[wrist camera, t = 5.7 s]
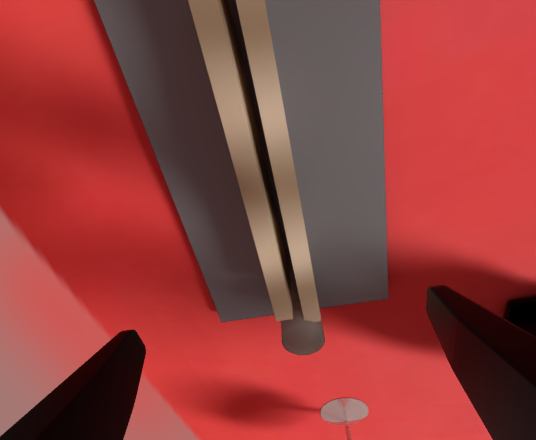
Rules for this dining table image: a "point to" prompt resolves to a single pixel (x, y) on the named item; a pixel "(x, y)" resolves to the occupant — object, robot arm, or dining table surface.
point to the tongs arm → (244, 143)
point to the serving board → (300, 135)
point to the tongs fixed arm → (283, 180)
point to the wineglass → (344, 413)
